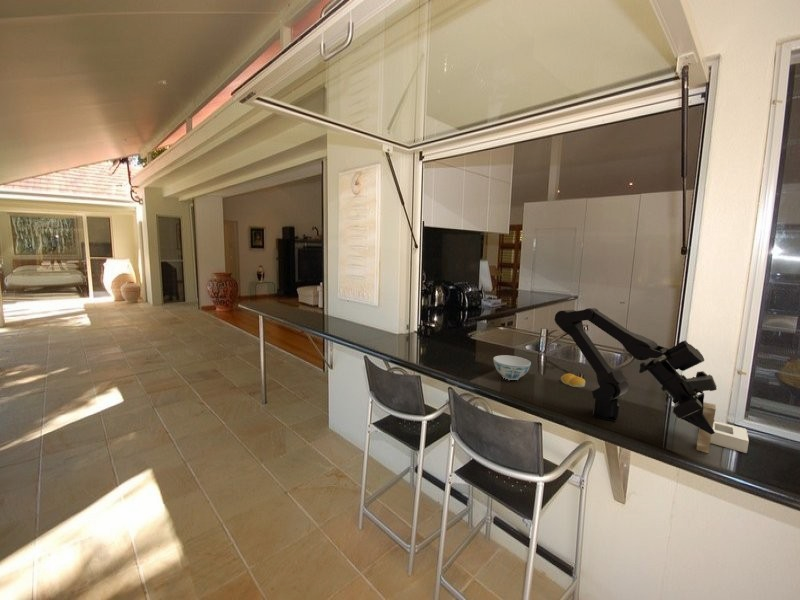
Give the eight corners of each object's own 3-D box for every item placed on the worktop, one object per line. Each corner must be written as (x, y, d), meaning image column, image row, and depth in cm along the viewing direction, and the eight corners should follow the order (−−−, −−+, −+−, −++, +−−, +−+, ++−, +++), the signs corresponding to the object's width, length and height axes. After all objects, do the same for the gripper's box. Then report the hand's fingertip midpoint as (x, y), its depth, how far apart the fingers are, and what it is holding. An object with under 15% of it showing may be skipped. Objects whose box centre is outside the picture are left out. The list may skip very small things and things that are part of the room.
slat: (696, 449, 98) (703, 406, 96) (697, 443, 101) (703, 401, 100) (708, 453, 96) (715, 409, 95) (708, 447, 100) (715, 404, 98)
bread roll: (577, 389, 141) (578, 379, 140) (557, 382, 149) (558, 372, 148) (589, 386, 145) (590, 376, 145) (569, 379, 153) (570, 370, 152)
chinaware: (533, 377, 152) (534, 360, 151) (523, 387, 140) (525, 368, 139) (498, 369, 160) (500, 353, 159) (487, 378, 148) (488, 360, 147)
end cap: (699, 439, 104) (701, 428, 103) (700, 428, 111) (701, 417, 111) (746, 453, 97) (748, 441, 97) (744, 440, 105) (746, 428, 104)
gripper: (695, 371, 91) (748, 426, 86) (697, 357, 105) (743, 404, 100) (654, 391, 97) (700, 444, 92) (661, 376, 112) (702, 421, 106)
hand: (712, 427), depth 97 cm, fingers open, 9 cm apart
